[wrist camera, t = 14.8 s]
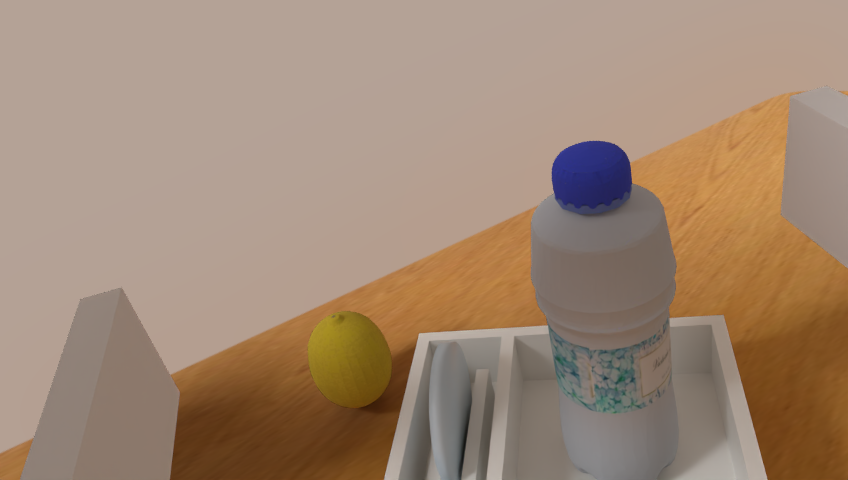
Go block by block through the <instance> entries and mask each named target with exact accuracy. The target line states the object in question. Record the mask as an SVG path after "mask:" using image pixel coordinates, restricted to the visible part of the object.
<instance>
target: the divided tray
mask: <svg viewBox="0 0 848 480" xmlns="http://www.w3.org/2000/svg"><path fill="white" fill-rule="evenodd" d="M669 319H670V340H671V361H672V381H673V389H674V395H675V401H676V407H677V415H678V427H679V438H678V449H677V452H676V456H675V459H674V461H673V462H672V463H671V465H669V466H668V467H665V468H663V469H662V470H661V472H660V474H659V476H658V477H657V479H656V480H768V479H767V476H766V472H765V468H764V464H763V461H762V457H761V453H760V450H759V446H758V442H757V438H756V435H755V431H754V427H753V423H752V420H751V416H750V412H749V408H748V405H747V401H746V397H745V393H744V390H743V386H742V382H741V379H740V375H739V371H738V367H737V364H736V360H735V356H734V352H733V349H732V345H731V341H730V337H729V334H728V330H727V326H726V322H725V319H724V315H713V316H697V317H680V318H669ZM384 480H597V479H596V478H594V477H593V476H592V475H591V474H589V473H588V474H587V473H582V472H580V471H579V470H578V469H577V468H576V467H575V466H574V464H573V462H572V461H571V459H570V457H569V455H568V452H567V449H566V446H565V443H564V439H563V434H562V429H561V420H560V407H559V390H558V382H557V378H556V372H555V366H554V360H553V354H552V348H551V342H550V336H549V330H548V326H532V327H515V328H498V329H482V330H465V331H449V332H432V333H419V337H418V341H417V345H416V349H415V353H414V357H413V361H412V366H411V370H410V374H409V378H408V382H407V386H406V390H405V395H404V399H403V403H402V407H401V411H400V415H399V419H398V423H397V428H396V432H395V436H394V440H393V444H392V448H391V452H390V457H389V461H388V465H387V469H386V473H385V477H384Z"/></svg>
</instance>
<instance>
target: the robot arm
mask: <svg viewBox="0 0 848 480" xmlns="http://www.w3.org/2000/svg"><path fill="white" fill-rule="evenodd" d="M781 216H783V217H784V218H785V219H787V220H788V221H789V222H790V223H792V224H793V225H794V226H795V227H797V228H798V229H799V230H800V231H802V232H803V233H804V234H805V235H807V236H808V237H809V238H810V239H812V240H813V241H814V242H815V243H817V244H818V245H819V246H820V247H822V248H823V249H824V250H825V251H827V252H828V253H829V254H830V255H832V256H833V257H834V258H835V259H837V260H838V261H839V262H840V263H842V264H843V265H844V266H846V267H847V268H848V96H846V95H844V94H842V93H841V92H839V91H837V90H834V89H833V88H831V87H829V86H824V87H821V88H817V89H814V90H810V91H807V92H803V93H800V94H796V95H793V96H790V106H789V118H788V131H787V143H786V155H785V167H784V180H783V192H782V204H781ZM179 397H180V392H179V390H178V388H177V386H176V385H175V383H174V381H173V379H172V377H171V376H170V374H169V372H168V371H167V368H166V367H165V365H164V363H163V361H162V359H161V358H160V356H159V354H158V352H157V350H156V349H155V347H154V345H153V343H152V341H151V339H150V338H149V336H148V334H147V332H146V331H145V329H144V327H143V325H142V324H141V321H140V320H139V318H138V316H137V314H136V312H135V311H134V309H133V307H132V305H131V303H130V302H129V300H128V298H127V296H126V294H125V293H124V291H123V289H122V288H118V289H115V290H111V291H108V292H104V293H101V294H97V295H94V296H90V297H87V298H83V299H80V302H79V305H78V308H77V311H76V314H75V317H74V320H73V323H72V326H71V329H70V332H69V334H68V337H67V341H66V344H65V346H64V349H63V353H62V355H61V359H60V361H59V364H58V367H57V370H56V374H55V376H54V379H53V382H52V385H51V388H50V391H49V394H48V397H47V400H46V403H45V406H44V409H43V412H42V415H41V418H40V421H39V424H38V427H37V430H36V433H35V436H34V439H33V442H32V445H31V448H30V451H29V454H28V457H27V460H26V463H25V466H24V469H23V472H22V475H21V478H20V480H170V474H171V465H172V456H173V448H174V439H175V431H176V422H177V414H178V405H179Z"/></svg>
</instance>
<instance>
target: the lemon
mask: <svg viewBox="0 0 848 480" xmlns="http://www.w3.org/2000/svg"><path fill="white" fill-rule="evenodd" d="M308 362H309V368H310V372H311V375H312V377H313V379H314V381H315V383H316V385H317V387H318V389H319V390H320V392H321V393H322V394H323V395H324V396H325V397H326V398H327V399H329V400H330V401H331V402H333V403H335V404H337V405H339V406H342V407H347V408H360V407H363V406H366V405H369V404H371V403H373V402H374V401H376V400H377V399H378V398H379V397H380V396H381V395H382V394H383V393H384V391H385V389H386V388H387V386H388V384H389V381H390V378H391V374H392V357H391V352H390V349H389V347H388V344H387V342H386V340H385V338H384V336H383V334H382V332H381V331H380V330H379V328H378V327H377V326H376V325H375V324H374V323H373V322H372V321H371V320H370V319H369V318H367V317H366V316H364V315H362V314H359V313H356V312H350V311H342V312H337V313H334V314H331V315H329V316H327V317H326V318H324V319H323V320H322V321H321V322H320V323H319V324H318V325H317V326H316V327H315V329H314V330H313V332H312V334H311V336H310V339H309V343H308Z"/></svg>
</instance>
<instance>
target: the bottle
mask: <svg viewBox="0 0 848 480" xmlns="http://www.w3.org/2000/svg"><path fill="white" fill-rule="evenodd" d="M552 183H553V190H554V194H552V195H550V196H549V197H548V198H547V199H545V200H544V201H542V202H541V203H540V205H539V206H538V207H537V208H536V210H535V212H534V214H533V217H532V221H531V263H532V265H531V280H532V283H533V285H534V287H535V289H536V300H537V303H538V306H539V308H540V309H541V311H542V312H543V313H544V314H545V315H546V318H547V324H548V330H549V336H550V342H551V348H552V354H553V360H554V366H555V372H556V378H557V382H558V390H559V407H560V420H561V429H562V434H563V439H564V443H565V446H566V449H567V452H568V455H569V457H570V459H571V461H572V462H573V464H574V466H575V467H576V468H577V469H578V470H579V471H580V472H582V473H587V474H588V473H589V474H591V475H592V476H593V477H594V478H596V479H597V480H656V479H657V477H658V476H659V474H660V472H661V470H662V469H663V468H665V467H668V466H669V465H671V463H672V462H673V461H674V459H675V456H676V452H677V449H678V438H679V427H678V415H677V407H676V401H675V395H674V389H673V381H672V361H671V340H670V319H669V306H670V304H671V302H672V301H673V298H674V295H675V290H676V284H675V279H674V276H675V273H676V259H675V256H674V253H673V249H672V244H671V239H670V235H669V230H668V226H667V221H666V216H665V212H664V207H663V206H662V204H661V202H660V200H659V199H658V198H657V197H656V196H655V195H654V194H653V193H652V192H650V191H649V190H647V189H645V188H643V187H641V186H638V185H636V184H632V178H631V167H630V162H629V159H628V157H627V155H626V153H625V152H624V151H623V150H622V149H621V148H619V147H618V146H617V145H615V144H612V143H609V142H603V141H587V142H582V143H578V144H575V145H572V146H570V147H568V148H566V149H564V150H563V151H562V152H561V153H560V154H559V155H558V156H557V158H556V159H555V161H554V163H553V167H552Z"/></svg>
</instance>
